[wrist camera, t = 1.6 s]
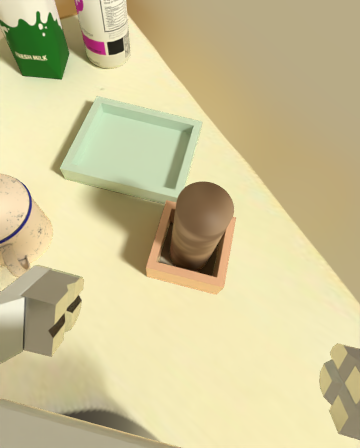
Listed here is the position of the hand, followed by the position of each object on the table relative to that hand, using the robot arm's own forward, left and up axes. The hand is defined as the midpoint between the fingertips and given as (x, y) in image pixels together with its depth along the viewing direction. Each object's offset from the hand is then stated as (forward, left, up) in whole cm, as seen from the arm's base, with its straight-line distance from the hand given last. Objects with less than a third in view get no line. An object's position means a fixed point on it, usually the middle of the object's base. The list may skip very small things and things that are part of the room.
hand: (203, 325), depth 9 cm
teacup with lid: (-22, +7, -29) cm, 37 cm away
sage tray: (-12, +26, -28) cm, 41 cm away
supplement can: (-24, +47, -29) cm, 60 cm away
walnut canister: (0, +12, -28) cm, 31 cm away
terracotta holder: (0, +12, -28) cm, 31 cm away
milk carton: (-34, +41, -29) cm, 61 cm away
